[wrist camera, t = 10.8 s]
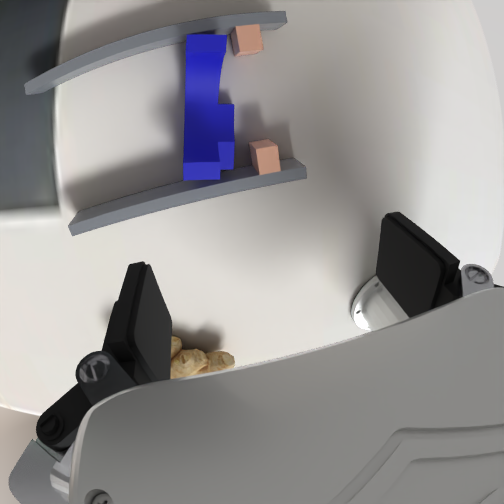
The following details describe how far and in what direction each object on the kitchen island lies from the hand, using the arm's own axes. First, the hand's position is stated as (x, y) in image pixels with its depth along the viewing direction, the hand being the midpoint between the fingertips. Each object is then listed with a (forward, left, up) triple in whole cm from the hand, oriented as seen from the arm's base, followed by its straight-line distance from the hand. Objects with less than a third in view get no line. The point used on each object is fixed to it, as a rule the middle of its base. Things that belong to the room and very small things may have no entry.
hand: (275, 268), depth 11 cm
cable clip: (0, -5, -20) cm, 21 cm away
